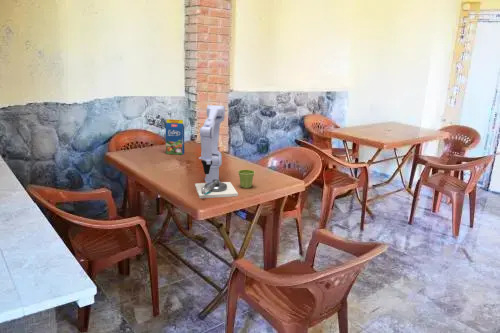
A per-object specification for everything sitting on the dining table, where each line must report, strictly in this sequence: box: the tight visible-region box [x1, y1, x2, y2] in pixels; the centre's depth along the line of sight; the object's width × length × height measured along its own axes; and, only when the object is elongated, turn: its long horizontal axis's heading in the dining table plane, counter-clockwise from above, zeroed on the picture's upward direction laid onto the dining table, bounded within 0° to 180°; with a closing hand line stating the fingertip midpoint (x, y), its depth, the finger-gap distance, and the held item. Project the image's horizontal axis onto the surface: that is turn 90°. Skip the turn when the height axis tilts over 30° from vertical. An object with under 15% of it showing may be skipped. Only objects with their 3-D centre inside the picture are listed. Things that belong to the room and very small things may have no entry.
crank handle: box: [201, 179, 227, 194], centre depth 215 cm, size 22×12×4 cm, turn 159°
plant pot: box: [237, 169, 256, 189], centre depth 228 cm, size 9×9×9 cm
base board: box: [194, 181, 239, 199], centre depth 220 cm, size 20×20×2 cm
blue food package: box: [165, 118, 185, 156], centre depth 294 cm, size 6×12×25 cm, turn 84°
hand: (206, 173), depth 218 cm, fingers closed
